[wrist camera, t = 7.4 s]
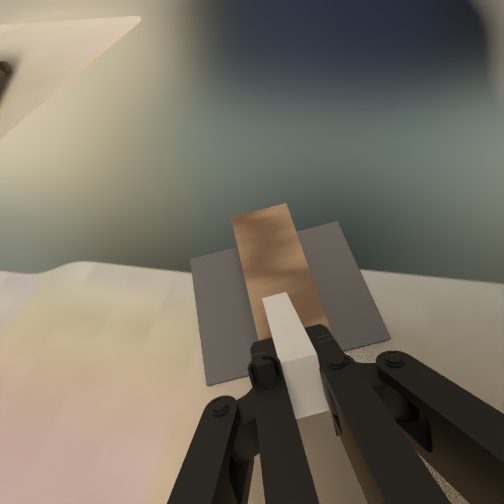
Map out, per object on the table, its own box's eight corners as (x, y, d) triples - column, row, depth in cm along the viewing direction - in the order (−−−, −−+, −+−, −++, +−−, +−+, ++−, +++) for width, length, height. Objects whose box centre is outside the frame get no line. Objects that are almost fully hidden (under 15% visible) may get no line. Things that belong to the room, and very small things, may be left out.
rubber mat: (336, 223, 28) (337, 221, 28) (389, 339, 22) (390, 338, 22) (191, 261, 28) (190, 259, 28) (208, 386, 22) (206, 385, 22)
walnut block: (327, 354, 22) (287, 234, 28) (334, 339, 18) (286, 203, 24) (268, 369, 22) (240, 245, 28) (262, 357, 18) (231, 217, 24)
